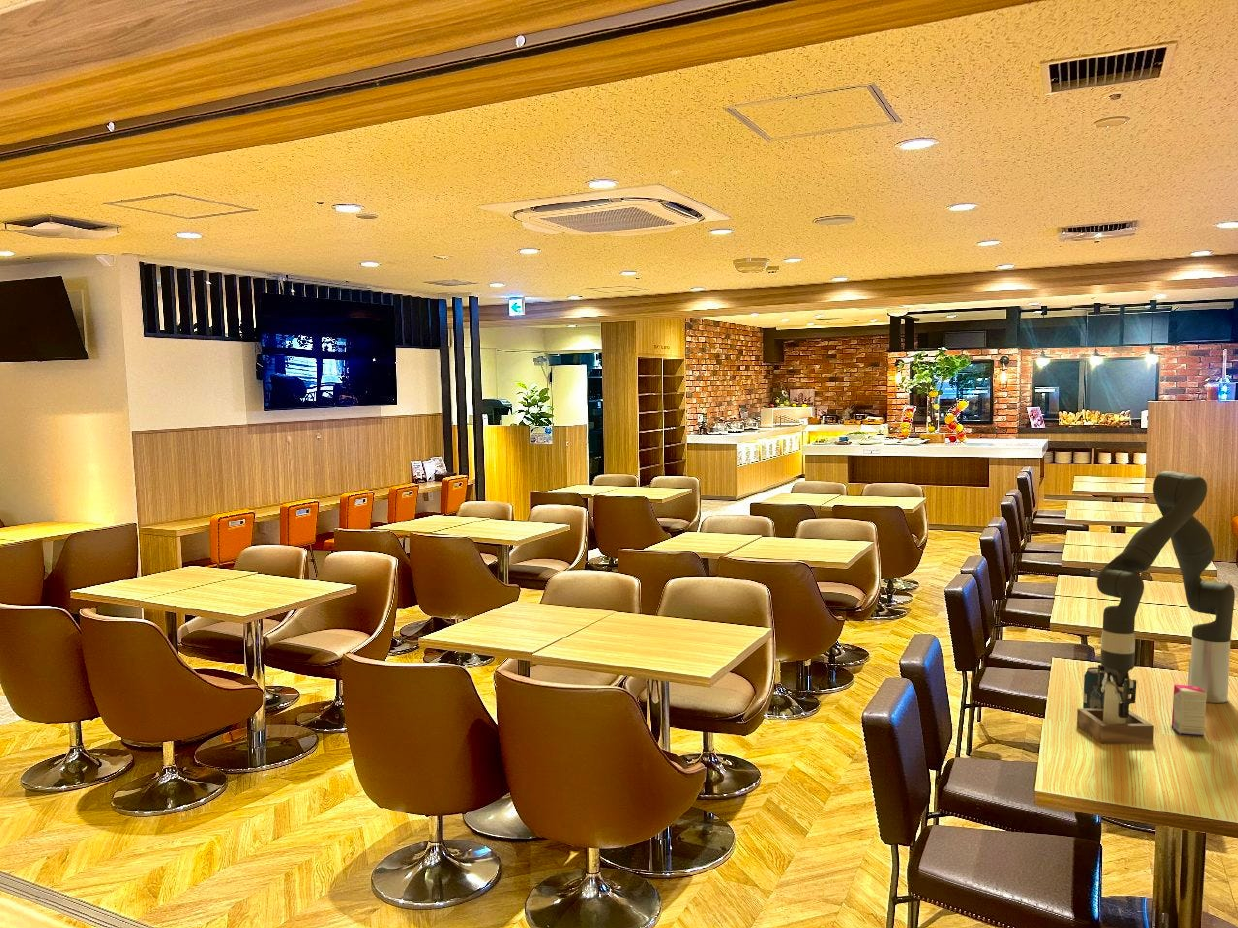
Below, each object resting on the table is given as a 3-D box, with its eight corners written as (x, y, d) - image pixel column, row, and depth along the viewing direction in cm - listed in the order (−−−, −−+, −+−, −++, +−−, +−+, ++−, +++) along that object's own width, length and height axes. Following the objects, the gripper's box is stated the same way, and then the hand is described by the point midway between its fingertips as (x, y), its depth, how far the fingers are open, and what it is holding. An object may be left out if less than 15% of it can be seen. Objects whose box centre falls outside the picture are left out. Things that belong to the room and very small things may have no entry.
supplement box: (1205, 737, 234) (1207, 692, 233) (1179, 735, 235) (1181, 691, 234) (1195, 728, 239) (1198, 685, 238) (1170, 727, 241) (1172, 683, 240)
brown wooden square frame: (1076, 725, 242) (1077, 708, 242) (1125, 724, 242) (1125, 708, 242) (1102, 743, 230) (1102, 725, 229) (1153, 743, 230) (1153, 725, 229)
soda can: (1105, 709, 254) (1107, 666, 253) (1116, 718, 247) (1118, 674, 246) (1078, 709, 254) (1080, 666, 253) (1089, 718, 247) (1090, 673, 246)
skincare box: (1107, 723, 240) (1109, 677, 239) (1127, 727, 237) (1128, 681, 236) (1101, 730, 235) (1103, 683, 234) (1121, 734, 232) (1123, 687, 231)
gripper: (1148, 656, 227) (1146, 722, 228) (1117, 640, 241) (1114, 702, 243) (1118, 656, 227) (1115, 722, 228) (1088, 640, 241) (1086, 702, 243)
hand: (1115, 712), depth 235 cm, fingers closed on skincare box, 7 cm apart
